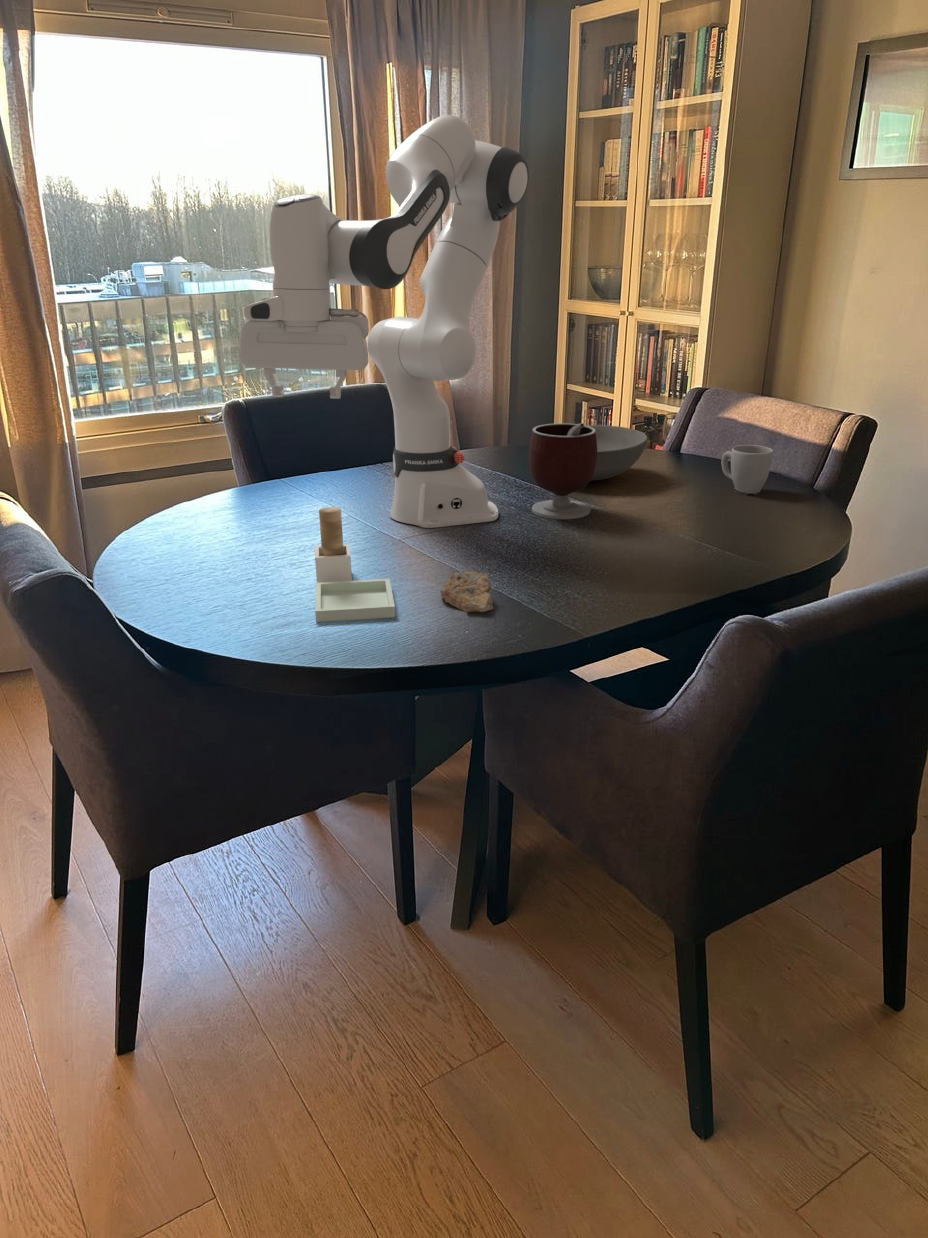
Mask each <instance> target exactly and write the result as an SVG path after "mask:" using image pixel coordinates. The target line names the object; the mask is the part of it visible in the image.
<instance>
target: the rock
mask: <svg viewBox="0 0 928 1238" xmlns="http://www.w3.org/2000/svg"><path fill="white" fill-rule="evenodd" d="M487 574H488V573H487V572H478V571H459V572H458V571H457V572H452V573H451V574H450V577H449V578H448V579H447V581H446V583H444V585H443V586H442V587H441V589H440V597H441V599H443V600H444V602H445V603H447V604H450V605H451V606H453V607H455V608H457V609H458V610H461V611H462V612H466V613H470V612H472V613H473V612H482V613H484V612H488V611H491V610H494V606H493V605H494V604H493V600H492V595H491V591H492V582H491V580H490V579H489V577H488V575H487Z"/></svg>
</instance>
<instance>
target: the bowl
mask: <svg viewBox="0 0 928 1238" xmlns="http://www.w3.org/2000/svg"><path fill="white" fill-rule="evenodd" d="M585 425H586V426H590V427H592V428H594V429H595V430H596V432H595V433H596V438H597V462H596V467H595V472H594V475H593V478H592V479H591V481H601V480H606V479H607V480H608V479H611V478H614V477H617V476H619V475H621V474H622V473H625V472H626V471H628V470H629V469H630V468H631V467H632V466H634V464H636V463H637V461H638V460H639V459H640V457H641V456H642V454H643V453H644V451H645V450H646V447H647V444H648V440H649V439H648V436H647V434H645V433H644V432H642V431H640V430H637V429H633V428H628V427H624V426H616V425H606V424H605V425H604V424H603V425H601V424H585Z"/></svg>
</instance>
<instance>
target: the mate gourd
mask: <svg viewBox="0 0 928 1238" xmlns="http://www.w3.org/2000/svg"><path fill="white" fill-rule="evenodd" d="M586 425H587V424H584V423H583V422H581V423H566V422H565V423H564V422H563V423H562V422H561V423H546V424H540V425H537V426H534V427H533V428H532V433H531V436H530V441H529V442H530V443H529V453H528V454H529V456H528V458H529V459H528V460H529V461H528V462H529V467H530V473H531V477H532V478H533V481H534V482H535V483H536V485H537V486H538V487H539V488H540V489H542V490H545V491H547V492H549V493H552V494H554V495H555V496H554V497H553V499H547V500H542V501H539V502H538V501H537V502H536V503H534V504H532V507H531V512H532V513H533V514H534V515H535V516H539V517H541V518H545V519H551V520H552V519H553V520H573V519H579V518H584V517H587V516H588V515H589V514H590V513H591V507H590V506H589V505H588V504H586V503H584V502H581V501H577V500H571V499H570V498H569V495H571V494H573V493H575V492H578V491H581V490H584V489H585V488H586V487H587V486H588V484H589V483H590V482H591V481H592V480H591V479H592V478H593V475H594V472H595V467H596V462H597V438H596V433H595V432H596V430H595V429H594V428H592V427H590V426H586Z"/></svg>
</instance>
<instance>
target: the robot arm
mask: <svg viewBox="0 0 928 1238" xmlns="http://www.w3.org/2000/svg"><path fill="white" fill-rule="evenodd" d="M385 180H386V184H387V188H388V191H389V194H390V195H391V197H392V199H393V200H394V201H395V203H397V205H398V206H399V207H398V208H397V209H396V210H395V212H394V213H393V215H391V216H389V217H386V218H380V219H379V218H378V219H368V220H367V219H366V220H365V219H363V220H357V219H356V220H355V219H354V220H353V219H352V220H351V219H350V220H349V219H343V218H342V217H340V216H338V215H337V214H335V213H333V212H332V211H331V210H330V209H329V208H328V207H327V206H326V205H325V204H324V202H323V199H322V197H321V196H320V195H317V194H309V193H308V194H305V193H303V194H299V195H289V196H283V197H281V198H278V199H277V200H276V201H275V202H274V203H273V204H272V208H271V213H270V221H269V246H270V247H269V248H270V250H269V251H270V258H271V262H272V265H273V269H274V271H273V272H274V273H273V274H274V276H273V282H272V297H265V298H262V299H261V300H259V301H257V302H252V303H250V304H248V305H245V307H243V315H244V318H245V319H246V320H247V321H245V323H244V324H243V326H242V327H241V330H240V341H239V353H240V362H241V363H242V365H243V366H244V367H245V368H247V369H250V368H251V369H263V375H264V377H265V379H266V381H267V382H268V384H269V385H270V386H271V393H272V394H271V395H272V397H273V398H283V397H284V396H285V391H284V388H285V387H284V384H279V383H278V381H277V379H276V378H275V376H274V375H275V374H277V369H287V370H288V369H289V370H319V371H320V370H324V371H325V370H327V371H335V377H336V378H338V380H337V382H336V384H335V385H333V386H330V387H329V393H330V394H329V399H336V400H337V399H341V397H342V388H341V387H342V386H343V384H344V382H345V380H346V379H347V377H348V371H362V370H365V368H366V367H367V366H368V364H369V362H370V361H369V358H370V359H371V361H372V362H373V363H374V365H375V366H377V368H378V370H379V371H380V373H381V375H382V378H383V380H384V383H385V385H386V388H387V391H388V393H389V394H388V395H389V398H390V401H391V405H392V410H393V411H392V412H393V423H394V424H393V425H394V443H395V444H394V445H395V446H394V447H393V453H392V466H393V473H394V477H395V478H394V479H395V481H394V491H393V497H392V498H393V500H392V503H391V504H392V505H391V508H390V513H389V517H390V518H391V519H392V520H395V521H397V522H400V523H404V524H408V525H414V526H418V527H420V528H424V529H431V528H433V529H435V528H442V527H451V526H459V525H470V524H478V523H479V524H480V523H486V522H487V523H488V522H494V521H496V520H497V519H498V518H499V509H498V507H497V505H496V504H495V503H493V502H492V501H490V500H489V499H488V493H487V489H486V487H485V485H484V483H483V482H482V481H481V479H479V478H478V477H477V476H476V475H474V473H471V472H470V471H469V470H467V468H465V467H464V466H462V465H461V464H463V463H464V461H465V460H466V459H465V458H466V457H465V455H464V454H463V452H461V451H460V450H459V449H457V448H456V447H455V446H451V429H450V428H451V426H450V425H451V424H450V420H451V419H450V409H449V406H448V404H447V403H446V401H445V400H444V399H443V398H442V397H441V395H440V393H439V392H438V389H437V386H436V384H435V381H437V382H446V381H448V382H449V381H453V380H454V381H455V380H459V379H462V378H464V377H466V376H467V375H468V374H469V373H470V372H471V371H472V369H473V367H474V365H475V362H476V359H477V345H476V341H475V339H474V336H473V334H472V333H471V329H470V327H471V326H470V319H471V312H472V309H473V308H472V307H473V304H474V301H475V298H476V296H477V293H478V290H479V289H480V286H481V285H482V284H481V283H482V282H483V278H484V276H485V275H486V272H487V270H488V269H489V268H488V267H489V265H490V262H491V260H492V257H493V254H494V252H495V248H496V245H497V241H498V237H499V231H500V225H501V221H503V220H504V219H506V218H507V216H509V215H510V214H511V212H513V211H514V210H515V209H516V208H517V207H518V206H519V205H520V203H521V201H522V200H523V198H524V197H525V195H526V192H527V189H528V187H529V186H528V185H529V167H528V163H527V161H526V158H525V155H523V154H521V153H520V152H518V151H517V150H514V149H513V148H510V147H508V146H503V147H502V146H499V145H495V144H493V143H489V142H486V141H482V140H481V141H480V140H476V139H475V135H474V132H473V130H472V129H471V127H470V126H469V124H467V122H465V121H464V120H463V119H462V118H460V117H458V116H456V115H454V114H453V115H452V114H443V115H440V116H438V117H435V118H434V119H431V120H429V121H428V122H426V123H424V124H423V125H422V126H420V127H419V128H418V129H416V130H415V131H414V132H412V133H411V134H409V136H408V137H407V138H406V139H404V141H402V142H401V143H400V144H399V145H398V146H397V148H396V149H395V150H394V151H393V152H392V154H391V155H390V157H389V159H388V161H387V162H386V166H385ZM449 203H451V204H453V211H452V213H451V215H450V216H449V217H448V219H447V221H446V222H445V223H444V226H443V227H442V229H441V231H440V233H439V235H438V236H437V240H436V241H435V244H434V246H433V248H432V250H431V253H430V255H429V257H428V259H427V262H426V263H425V267H424V269H423V271H422V273H421V275H420V278H419V286H420V287H419V288H420V291H421V292H422V294H423V296H424V297H425V299H424V301H425V302H424V307H423V311H422V313H421V315H420V317H418V318H416V317H406V316H396V317H390V318H387V319H383V320H380V321H378V322H377V323H376V324H374V326H373V327H372V328H371V330H369V319H368V317H367V316H366V314H365V313H363V312H362V311H360V310H359V309H356V308H350V309H345V308H344V309H343V308H332V305H331V285H330V284H335V285H347V286H358V287H359V286H362V287H369V288H373V289H374V288H375V289H380V290H391V289H394V288H396V287H397V286H399V285H400V283H402V282H403V280H404V279H405V277H406V275H407V274H408V272H409V271H410V268H411V265H412V263H413V260H414V258H415V256H416V254H417V252H418V251H419V249H420V247H421V246H422V244H423V243H424V242H425V240H426V239H427V237H428V236H429V234H431V232H432V230H433V229H434V227H435V226H436V225H437V224H438V221H439V220H440V219H441V217H442V216H443V214H444V212H445V210H446V209H447V207H448V205H449ZM369 331H370V332H369ZM368 334H369V335H368Z"/></svg>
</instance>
